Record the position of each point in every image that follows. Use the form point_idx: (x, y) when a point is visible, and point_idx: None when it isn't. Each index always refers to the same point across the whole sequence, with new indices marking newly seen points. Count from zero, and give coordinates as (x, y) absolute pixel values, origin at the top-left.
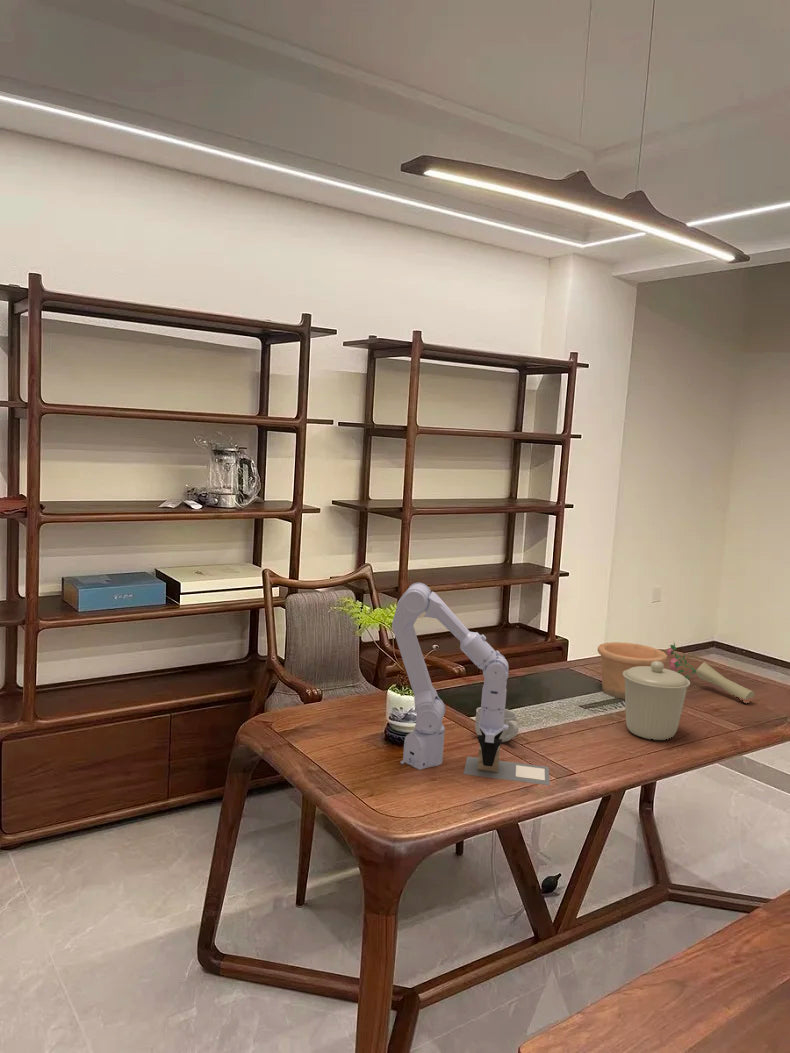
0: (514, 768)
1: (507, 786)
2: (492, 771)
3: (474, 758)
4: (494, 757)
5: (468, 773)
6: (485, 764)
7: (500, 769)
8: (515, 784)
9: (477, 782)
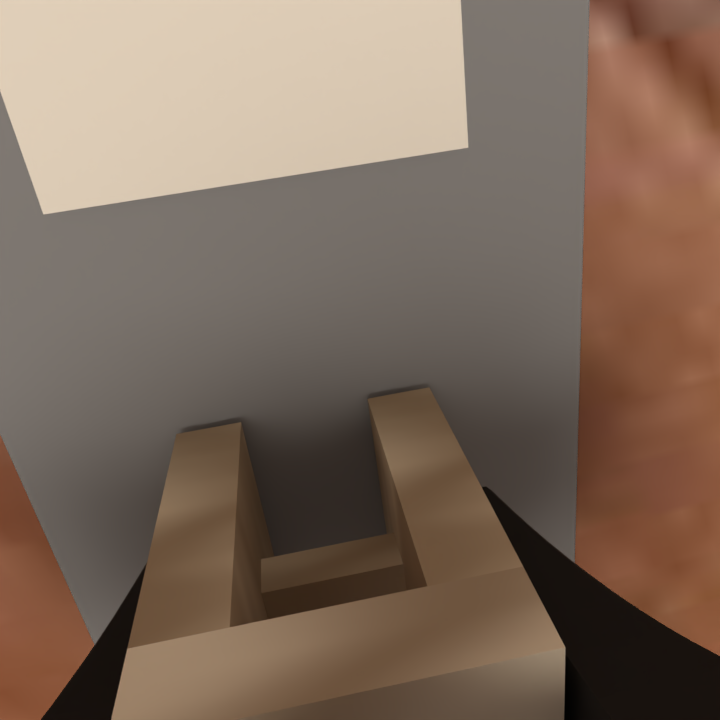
0: (163, 216)
1: (624, 202)
2: None
3: None
4: (566, 558)
5: None
6: None
7: (299, 376)
8: None
9: (609, 486)
